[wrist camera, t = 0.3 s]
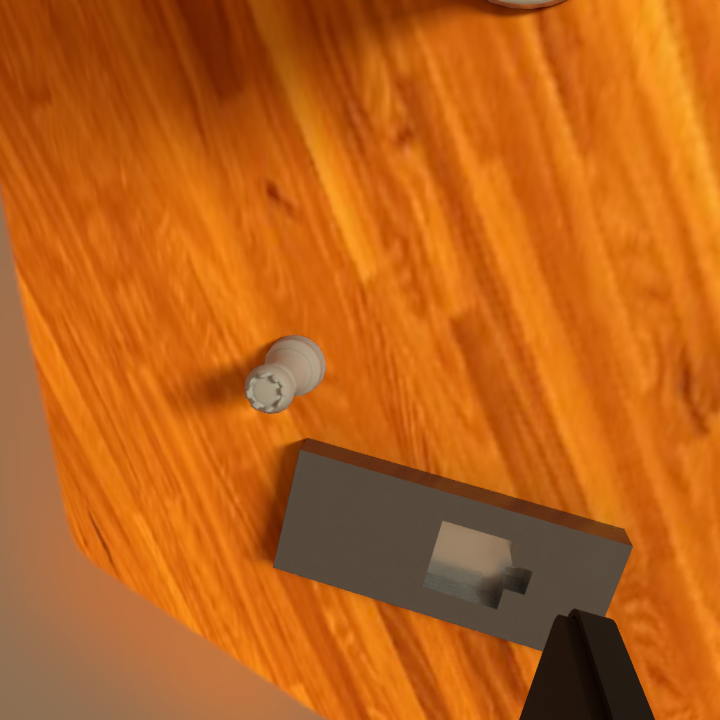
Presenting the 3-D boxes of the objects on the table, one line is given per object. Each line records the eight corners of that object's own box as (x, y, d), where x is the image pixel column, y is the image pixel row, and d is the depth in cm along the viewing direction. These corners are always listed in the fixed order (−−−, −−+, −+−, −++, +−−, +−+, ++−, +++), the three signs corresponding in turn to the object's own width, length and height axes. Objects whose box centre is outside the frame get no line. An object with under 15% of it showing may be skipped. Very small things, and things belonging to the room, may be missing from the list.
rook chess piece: (339, 367, 45) (314, 398, 37) (296, 403, 46) (263, 441, 38) (299, 321, 45) (265, 343, 37) (256, 359, 46) (215, 388, 38)
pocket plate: (307, 438, 47) (299, 449, 44) (623, 529, 44) (633, 546, 42) (281, 550, 49) (273, 567, 47) (579, 642, 47) (585, 664, 45)
